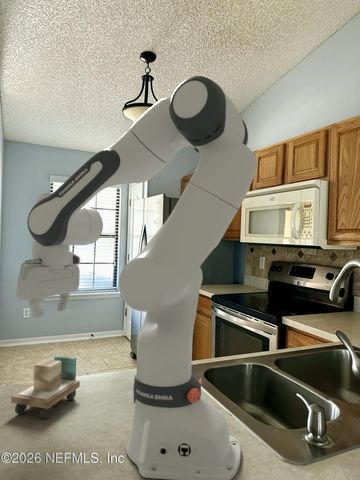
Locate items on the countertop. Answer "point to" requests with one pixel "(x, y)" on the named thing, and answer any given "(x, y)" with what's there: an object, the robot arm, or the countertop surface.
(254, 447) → the countertop surface
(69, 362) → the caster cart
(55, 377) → the maple block
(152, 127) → the robot arm
